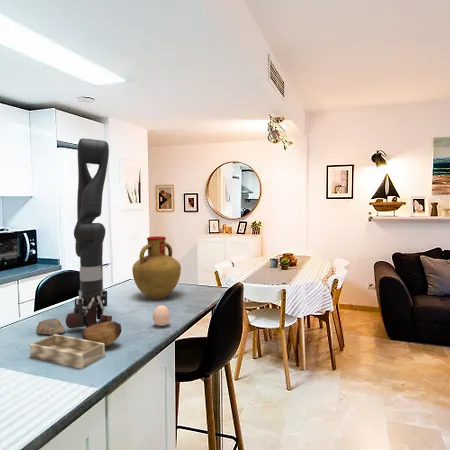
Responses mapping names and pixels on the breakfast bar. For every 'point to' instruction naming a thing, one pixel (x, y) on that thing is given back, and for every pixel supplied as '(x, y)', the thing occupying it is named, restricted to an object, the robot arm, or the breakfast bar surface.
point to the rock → (50, 327)
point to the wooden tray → (67, 351)
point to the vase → (156, 269)
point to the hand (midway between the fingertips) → (92, 322)
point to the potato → (103, 332)
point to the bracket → (75, 322)
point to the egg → (161, 315)
